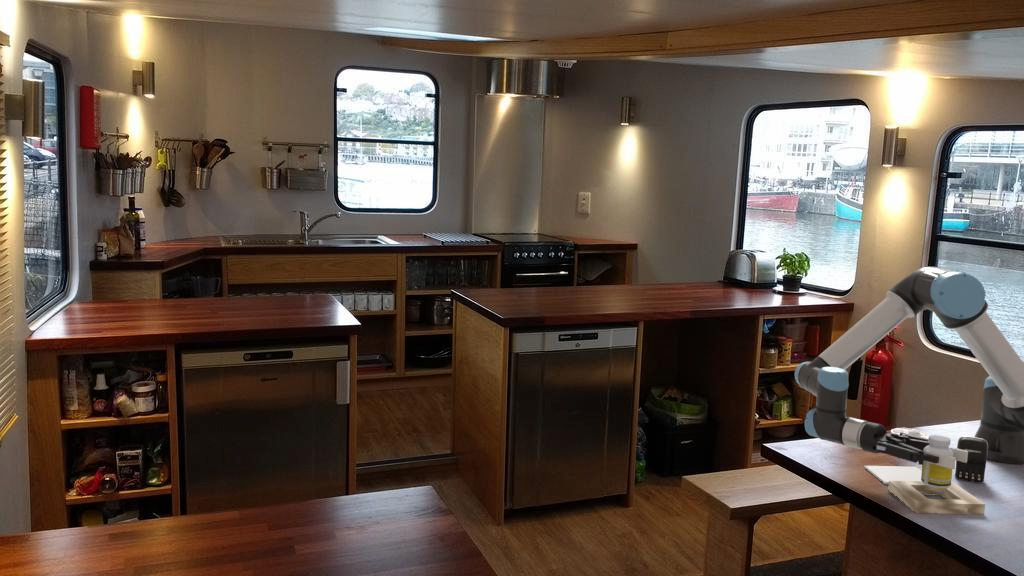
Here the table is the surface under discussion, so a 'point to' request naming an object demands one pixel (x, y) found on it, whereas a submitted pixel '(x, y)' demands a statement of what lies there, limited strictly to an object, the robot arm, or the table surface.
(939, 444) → the pill bottle
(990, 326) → the robot arm
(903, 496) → the holder
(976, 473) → the battery charger
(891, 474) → the pad
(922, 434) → the cell model
